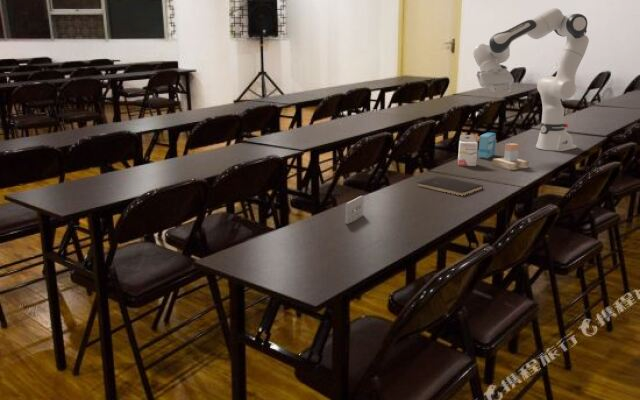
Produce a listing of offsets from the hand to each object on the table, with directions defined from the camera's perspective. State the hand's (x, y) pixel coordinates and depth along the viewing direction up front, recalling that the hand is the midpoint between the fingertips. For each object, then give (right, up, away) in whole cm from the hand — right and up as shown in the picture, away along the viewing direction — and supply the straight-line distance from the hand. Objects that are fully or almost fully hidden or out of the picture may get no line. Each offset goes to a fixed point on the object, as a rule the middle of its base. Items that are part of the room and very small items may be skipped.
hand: (502, 91), depth 304 cm
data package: (-6, -34, +6) cm, 35 cm away
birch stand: (-1, -40, -15) cm, 42 cm away
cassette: (-82, -64, -88) cm, 136 cm away
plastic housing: (-1, -37, -16) cm, 40 cm away
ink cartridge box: (-21, -39, -11) cm, 46 cm away
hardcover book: (-38, -52, -49) cm, 81 cm away
